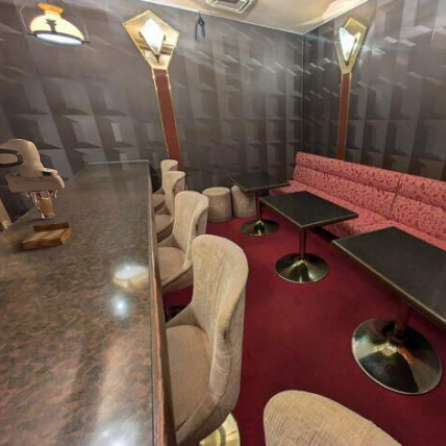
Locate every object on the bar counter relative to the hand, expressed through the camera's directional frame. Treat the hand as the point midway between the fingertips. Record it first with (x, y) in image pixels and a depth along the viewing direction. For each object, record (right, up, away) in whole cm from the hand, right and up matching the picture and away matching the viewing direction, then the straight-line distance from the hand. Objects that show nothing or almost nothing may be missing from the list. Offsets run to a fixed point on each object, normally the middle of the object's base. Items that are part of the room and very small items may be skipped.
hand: (42, 198), depth 130 cm
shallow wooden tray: (+25, -21, -21) cm, 39 cm away
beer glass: (-1, -10, +4) cm, 11 cm away
